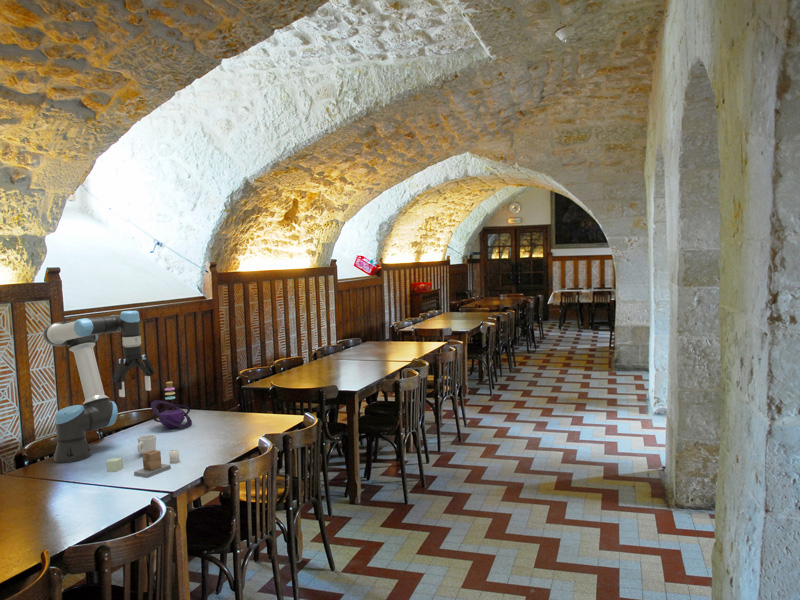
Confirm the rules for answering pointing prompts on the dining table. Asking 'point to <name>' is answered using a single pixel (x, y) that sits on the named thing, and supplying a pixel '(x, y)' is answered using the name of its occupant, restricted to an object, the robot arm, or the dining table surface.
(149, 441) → the cup
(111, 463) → the sage cube
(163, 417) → the decorative bottle
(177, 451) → the stone cylinder
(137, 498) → the dining table surface
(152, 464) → the walnut block
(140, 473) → the slate board
